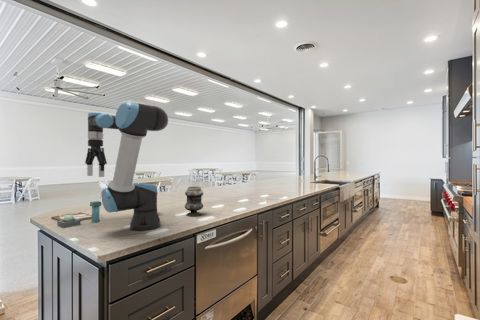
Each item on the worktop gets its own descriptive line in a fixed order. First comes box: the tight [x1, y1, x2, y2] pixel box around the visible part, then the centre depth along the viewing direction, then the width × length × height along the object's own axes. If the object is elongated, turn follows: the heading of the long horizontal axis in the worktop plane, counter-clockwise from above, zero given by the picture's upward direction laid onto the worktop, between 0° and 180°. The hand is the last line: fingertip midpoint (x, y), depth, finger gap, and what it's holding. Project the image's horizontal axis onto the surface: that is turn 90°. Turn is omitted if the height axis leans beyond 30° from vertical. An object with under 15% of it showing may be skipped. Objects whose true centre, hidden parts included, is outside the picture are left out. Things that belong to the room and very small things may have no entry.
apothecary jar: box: [184, 186, 204, 217], centre depth 159 cm, size 12×12×18 cm
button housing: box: [56, 218, 81, 229], centre depth 133 cm, size 8×8×2 cm
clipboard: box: [51, 212, 92, 222], centre depth 149 cm, size 20×16×2 cm
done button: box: [64, 215, 74, 222], centre depth 133 cm, size 4×4×3 cm
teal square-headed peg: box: [89, 200, 102, 223], centre depth 141 cm, size 4×4×11 cm
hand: (95, 176), depth 141 cm, fingers open, 13 cm apart
